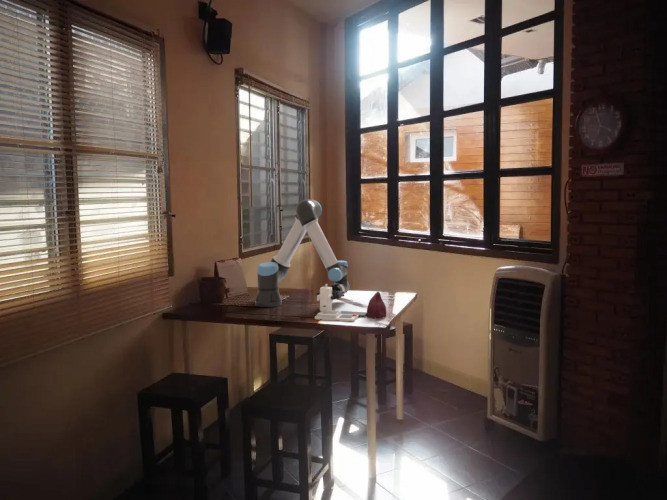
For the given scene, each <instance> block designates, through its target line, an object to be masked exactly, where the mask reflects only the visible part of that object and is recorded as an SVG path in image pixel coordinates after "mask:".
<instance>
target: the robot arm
mask: <svg viewBox="0 0 667 500" xmlns="http://www.w3.org/2000/svg"><path fill="white" fill-rule="evenodd" d="M322 210H323V209H322V205H321V204H320V203H319V201H317V200H314V199H312V198H311V199H303V200H300V201H299V202H298V203H297V204H296V206H295V216H294V219H295V221H294V222H293V224H292V227H291V229H289V232H288V234H287V236H286V238H285V239H284V241H283V243H282V245H281V247H280V249H279V250H278V252H277V254H276V255H273V256H272V258H271V260H270V261H267V262H266V261H265V262H262V263H260V264H258V265H257V270H256V271H257V294H256V296H255V298H254V299H255V300H254V305H255V306H256V307H260V308H273V307H279V306H281V305H282V304H283V299H282V297H281V294H280V290H279V283H280V282H283V281H284V280H285V279H286V278H287V277H288V274H289V270H290V269H291V261H292V259H293V258H294V255H295V254H296V252H297V250H298V248H299V246H300V244H301V242H302V241H303V239H304V237H305V235H306V234H308V236H309V238H310V240H311V242H312V245H314V248H315V250H316V252H317V254H318V256H319V258H320V259H321V261H322V263H323V265H324V267H325V269H326V271H327V277H328V279H329V280H330V281H331V282H334V284H332V285H331V286H329V287H332V294H331V295H329V296H328V298H327V302H329V301H331V300H332V301H333V300H335V299H336V300H340V299H341V298H342V297H345V294H347V292H348V291H349V290H350V283H349V280H348V274H349V273H348V269H349V266H348V261H347V260H338V259H337V258H336V255H335V253H334V252H333V249H332V247H331V246H330V243H329V242H328V239H327V238H326V236H325V234H324V232H323V230H322V228H321V226H320V224H319V218H320V216H321V215H322ZM315 295H316V301H317V302H320V290H319V291H318V292H316V294H315Z"/></svg>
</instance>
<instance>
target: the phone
mask: <svg viewBox="0 0 667 500" xmlns="http://www.w3.org/2000/svg"><path fill="white" fill-rule="evenodd" d="M340 311H341V314H352V315H353V314H354V313H355V314H357V315H359V318H366V317H367V311H366V312H364V311H350V310H340Z"/></svg>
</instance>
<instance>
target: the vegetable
mask: <svg viewBox="0 0 667 500" xmlns="http://www.w3.org/2000/svg"><path fill="white" fill-rule="evenodd" d="M366 312H367V316H366V317H367V318H369V319H384V318H383V317H385V318H386V317H387V307H386V304H385V302H384V300H383V298H382V295H381V292H380V291H376V292H375V294H374V295H373V296H372V297H371V298H370V300H369V302H368V305H367V308H366Z"/></svg>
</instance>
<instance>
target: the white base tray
mask: <svg viewBox="0 0 667 500" xmlns="http://www.w3.org/2000/svg"><path fill="white" fill-rule="evenodd" d="M341 311H342V310H333V309H332V310H322V311H320V312H319V311H318V313H317V314H316V315H315V316H314V320H320V319H322V320H321V321H334V320H340V321H339V322H348V321H354V322H356V320H357V319H359V318H360V317H359V315H357V314H355V313H354V314H353V315H352V314H341Z"/></svg>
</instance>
